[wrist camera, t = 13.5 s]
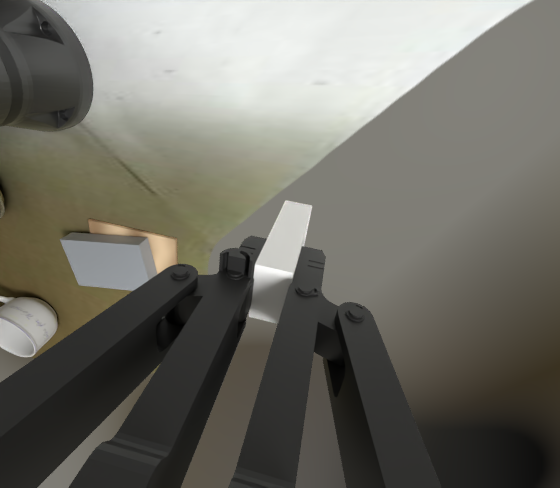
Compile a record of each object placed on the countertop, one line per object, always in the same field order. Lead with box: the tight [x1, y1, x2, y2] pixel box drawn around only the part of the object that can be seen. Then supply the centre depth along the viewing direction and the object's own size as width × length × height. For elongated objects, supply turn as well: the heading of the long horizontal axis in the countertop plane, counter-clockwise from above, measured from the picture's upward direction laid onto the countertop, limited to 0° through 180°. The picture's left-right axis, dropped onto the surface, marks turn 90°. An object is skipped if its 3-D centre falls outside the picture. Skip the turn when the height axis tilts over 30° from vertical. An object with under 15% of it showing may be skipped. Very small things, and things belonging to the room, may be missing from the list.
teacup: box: [0, 296, 58, 357], centre depth 63 cm, size 14×11×8 cm
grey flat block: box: [60, 232, 157, 291], centre depth 54 cm, size 3×9×14 cm
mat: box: [88, 219, 178, 274], centre depth 54 cm, size 15×10×1 cm, turn 82°
